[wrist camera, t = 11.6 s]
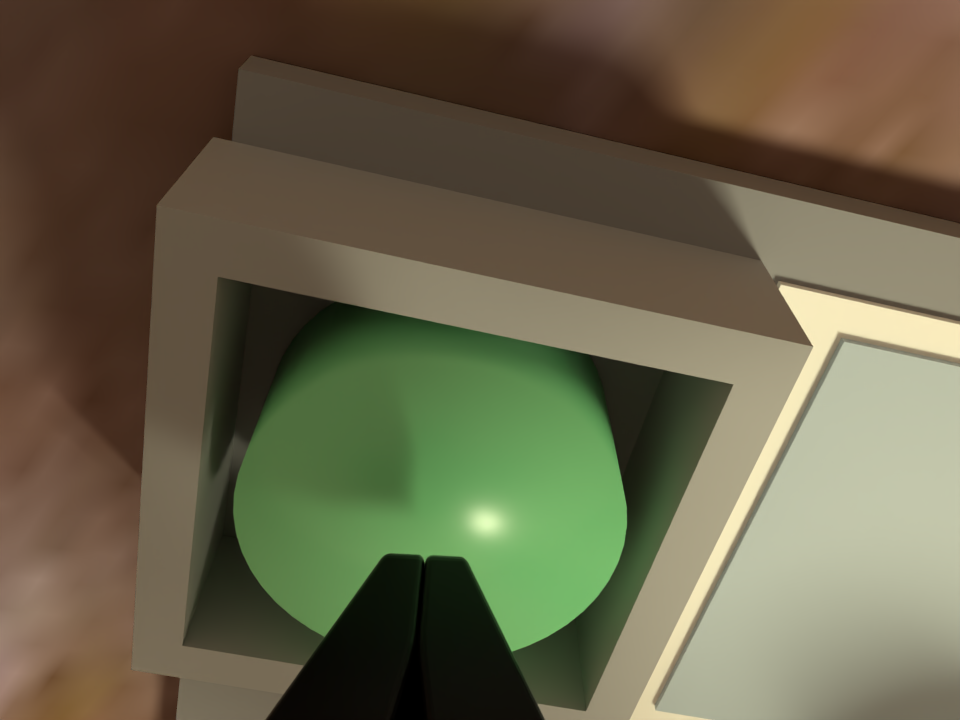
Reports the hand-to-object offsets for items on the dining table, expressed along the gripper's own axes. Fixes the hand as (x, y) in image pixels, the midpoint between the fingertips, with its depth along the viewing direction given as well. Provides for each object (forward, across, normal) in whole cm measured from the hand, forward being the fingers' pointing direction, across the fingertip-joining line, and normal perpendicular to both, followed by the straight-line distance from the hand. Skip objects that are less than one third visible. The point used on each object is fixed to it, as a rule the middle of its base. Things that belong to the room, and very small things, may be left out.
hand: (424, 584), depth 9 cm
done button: (+4, 0, 0) cm, 4 cm away
